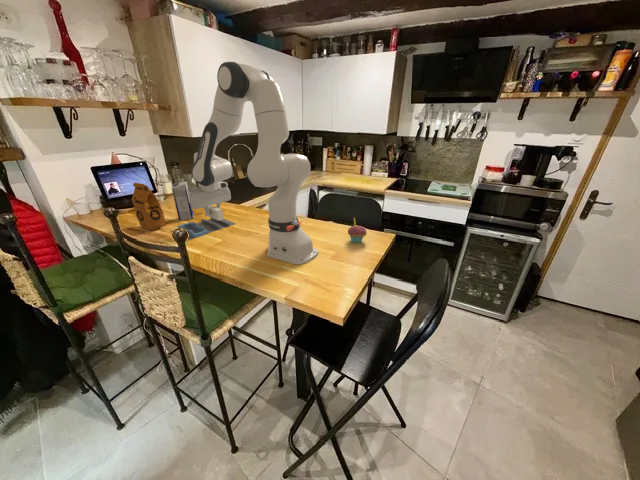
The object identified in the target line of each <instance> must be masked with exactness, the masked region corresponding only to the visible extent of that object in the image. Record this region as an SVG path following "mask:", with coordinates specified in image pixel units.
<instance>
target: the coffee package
mask: <svg viewBox="0 0 640 480" xmlns="http://www.w3.org/2000/svg"><path fill="white" fill-rule="evenodd" d="M132 186H133V187H134V190H133V193H132V197H131V201H132V205H133V208H134V211H135V215H136V216H135V217H136V218H137V221H138V223H139V226H140V227H142V228H145V229H146V230H149V231H153V232H154V231H158V230H161V229H162V228H163V227H165V226H167V224H166V219H165V215H164V211H163V209H162V207H161V204H160V201H159V200H158V198H157V196H156V195H155V194H154V193H153V191H152V190H151V189H150V188H149V186H148V185H147V184H144V183H139V182H133V184H132Z"/></svg>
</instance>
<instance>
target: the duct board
mask: <svg viewBox="0 0 640 480" xmlns="http://www.w3.org/2000/svg"><path fill="white" fill-rule="evenodd" d="M234 225H237V223H235V222H233V221H231V220H229V219H225V218H224V219H223V220H219V221H218V220H215V219H213V218H209V219H204V218H200V222H199V221H198V222H197V223H196V222H194V221H190V222H186V223H184V224H180V225H177V229H178V228H183V229H185V230H187V232H188V234H189V237H188V240H186V242H188V241H191V240H193V239H197V238H199V237H202V236H205V235H208V234H211V233H215V232H218V231H219V230H223V229H226V228H228V227H232V226H234ZM170 232H171V233H172V232H173V230H170Z"/></svg>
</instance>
